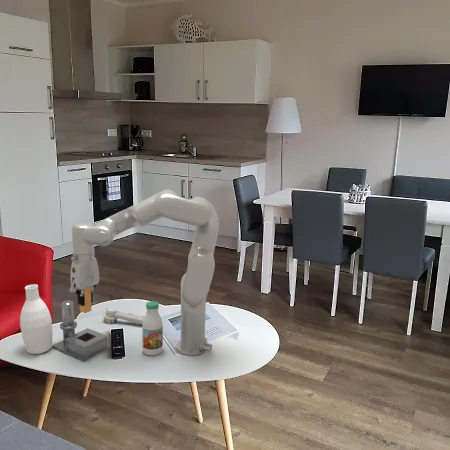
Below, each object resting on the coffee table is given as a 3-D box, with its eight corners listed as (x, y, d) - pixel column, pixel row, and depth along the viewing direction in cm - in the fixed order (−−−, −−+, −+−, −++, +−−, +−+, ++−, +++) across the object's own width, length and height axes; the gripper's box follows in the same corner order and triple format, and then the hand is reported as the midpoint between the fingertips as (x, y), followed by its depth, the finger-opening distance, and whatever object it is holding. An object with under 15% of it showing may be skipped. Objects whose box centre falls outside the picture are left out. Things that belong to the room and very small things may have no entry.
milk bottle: (138, 351, 177) (137, 302, 172) (154, 344, 182) (154, 297, 177) (150, 358, 172) (150, 309, 167) (166, 351, 177) (166, 303, 172)
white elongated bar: (157, 322, 193) (102, 308, 197) (155, 336, 195) (100, 322, 199) (161, 316, 198) (107, 303, 202) (159, 330, 200) (106, 317, 204)
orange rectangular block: (91, 310, 173) (90, 280, 170) (85, 313, 170) (84, 282, 168) (86, 308, 174) (85, 278, 172) (79, 311, 172) (78, 281, 169)
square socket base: (110, 347, 178) (109, 307, 174) (84, 362, 168) (82, 319, 164) (77, 334, 188) (75, 295, 184) (50, 346, 178) (47, 306, 174)
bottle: (17, 353, 172) (7, 290, 166) (37, 339, 182) (29, 279, 176) (41, 357, 169) (33, 293, 163) (61, 343, 179) (53, 282, 173)
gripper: (72, 264, 159) (74, 313, 163) (107, 253, 172) (108, 299, 177) (58, 259, 163) (60, 308, 167) (93, 249, 176) (95, 294, 180)
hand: (85, 302), depth 172 cm, fingers closed on orange rectangular block, 3 cm apart
